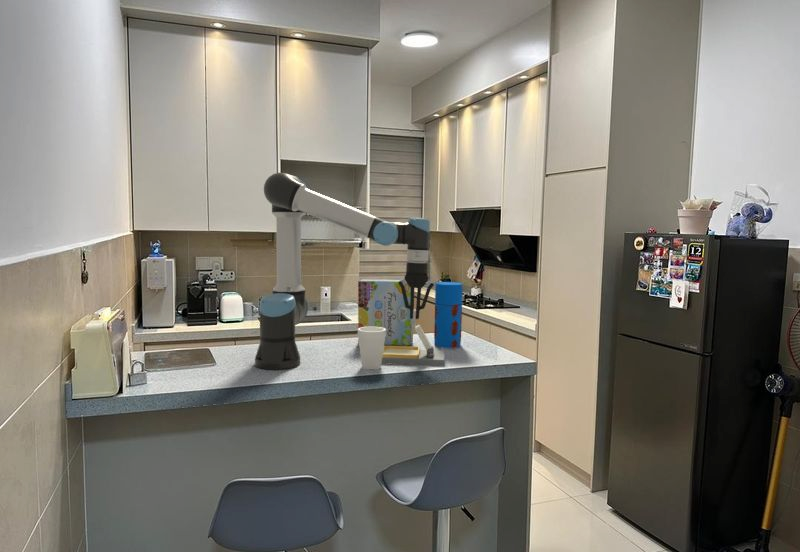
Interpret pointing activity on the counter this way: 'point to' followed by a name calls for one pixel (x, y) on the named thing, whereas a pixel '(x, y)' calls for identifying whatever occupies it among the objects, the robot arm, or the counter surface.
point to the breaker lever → (424, 339)
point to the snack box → (385, 310)
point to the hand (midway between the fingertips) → (414, 327)
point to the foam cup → (371, 346)
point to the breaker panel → (411, 355)
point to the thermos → (448, 314)
